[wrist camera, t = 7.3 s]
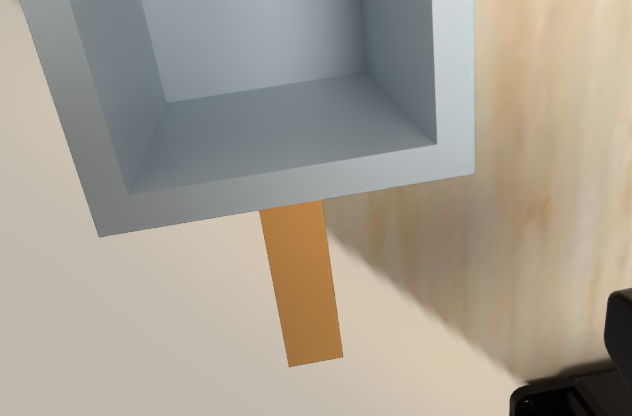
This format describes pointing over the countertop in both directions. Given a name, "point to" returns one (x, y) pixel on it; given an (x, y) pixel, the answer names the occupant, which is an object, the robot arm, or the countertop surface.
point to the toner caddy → (259, 118)
